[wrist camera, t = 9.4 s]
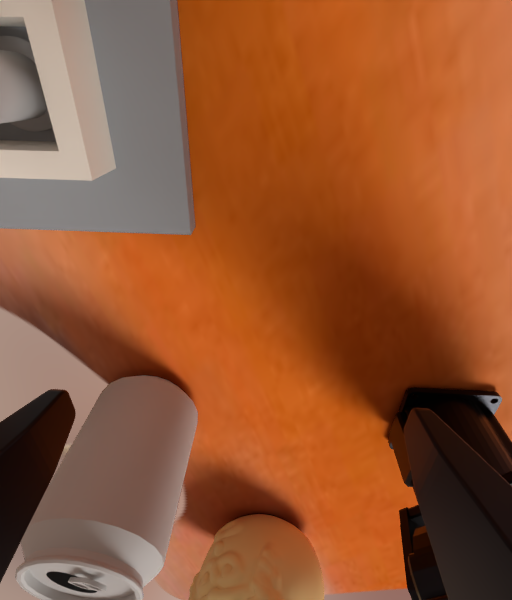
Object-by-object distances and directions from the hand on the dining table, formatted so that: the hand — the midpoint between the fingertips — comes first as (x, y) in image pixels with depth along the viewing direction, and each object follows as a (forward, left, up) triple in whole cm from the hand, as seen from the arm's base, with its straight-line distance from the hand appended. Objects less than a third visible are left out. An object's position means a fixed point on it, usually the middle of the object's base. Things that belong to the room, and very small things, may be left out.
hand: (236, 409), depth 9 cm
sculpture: (-1, +33, -12) cm, 35 cm away
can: (+8, +14, -12) cm, 20 cm away
